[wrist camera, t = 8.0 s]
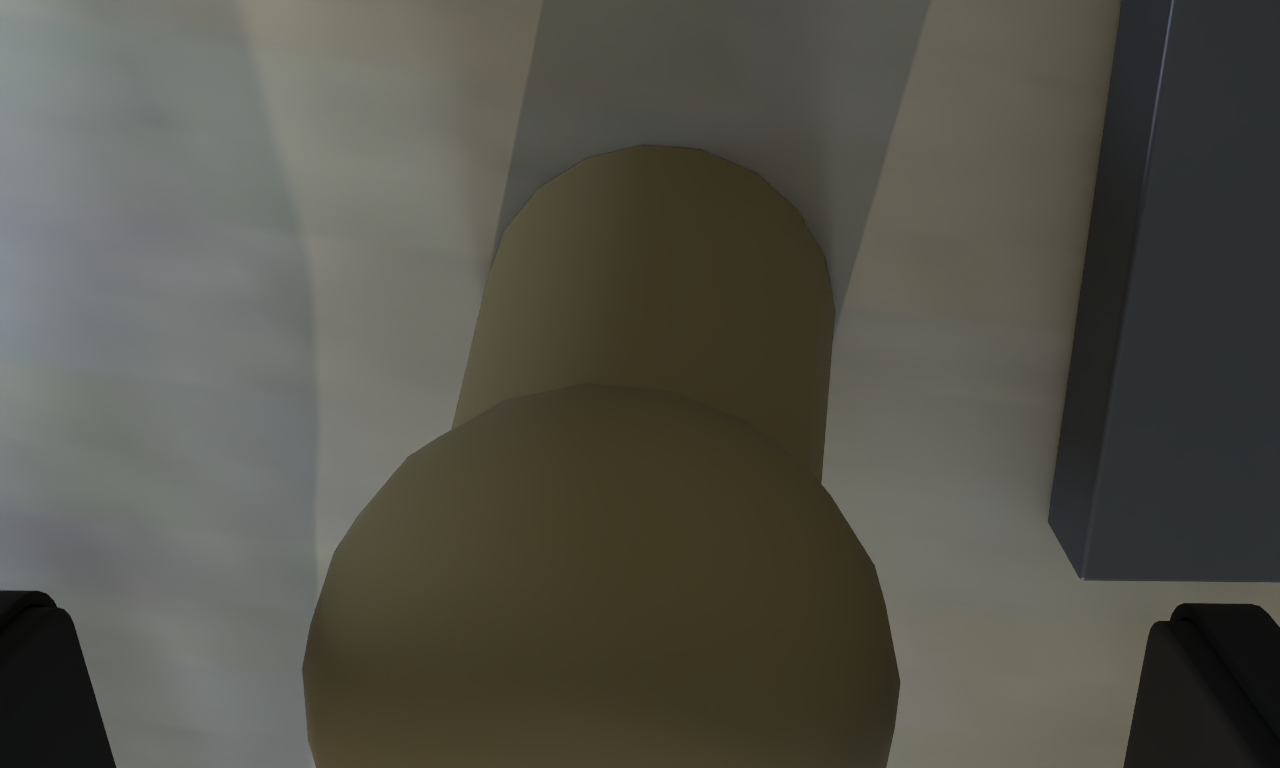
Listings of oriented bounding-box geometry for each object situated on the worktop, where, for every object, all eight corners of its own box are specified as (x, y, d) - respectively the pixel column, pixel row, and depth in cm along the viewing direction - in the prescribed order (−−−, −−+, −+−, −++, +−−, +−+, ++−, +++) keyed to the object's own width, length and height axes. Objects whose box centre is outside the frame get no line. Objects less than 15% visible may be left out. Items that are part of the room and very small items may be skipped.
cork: (510, 482, 19) (283, 1080, 9) (458, 158, 17) (78, 489, 7) (837, 467, 19) (977, 1089, 9) (832, 129, 16) (1014, 443, 6)
